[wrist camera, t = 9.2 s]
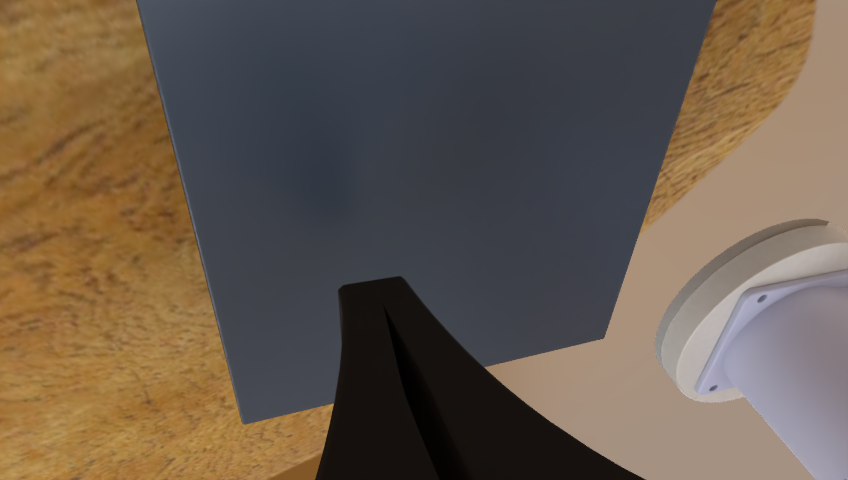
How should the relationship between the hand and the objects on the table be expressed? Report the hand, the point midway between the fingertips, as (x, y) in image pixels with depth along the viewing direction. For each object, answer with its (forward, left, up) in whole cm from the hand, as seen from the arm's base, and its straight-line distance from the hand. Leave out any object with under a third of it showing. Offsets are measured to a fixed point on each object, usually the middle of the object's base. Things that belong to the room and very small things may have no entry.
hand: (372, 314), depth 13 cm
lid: (-3, 0, -3) cm, 4 cm away
